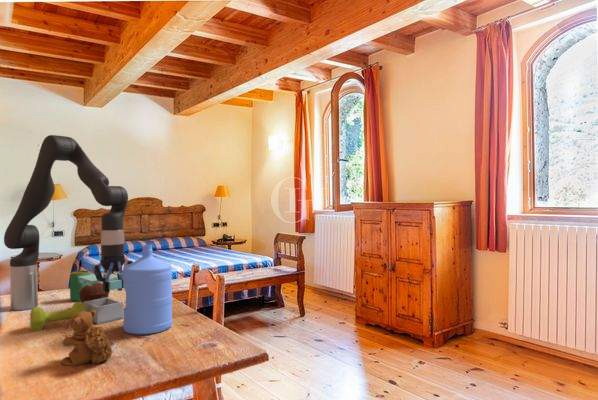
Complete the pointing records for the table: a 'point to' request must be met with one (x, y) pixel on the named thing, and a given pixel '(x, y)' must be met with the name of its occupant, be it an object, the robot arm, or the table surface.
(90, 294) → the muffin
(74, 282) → the beverage can
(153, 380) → the table surface
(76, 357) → the stuffed squirrel
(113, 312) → the tub
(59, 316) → the dumbbell
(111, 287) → the teal flat paddle shape
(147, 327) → the water jug
